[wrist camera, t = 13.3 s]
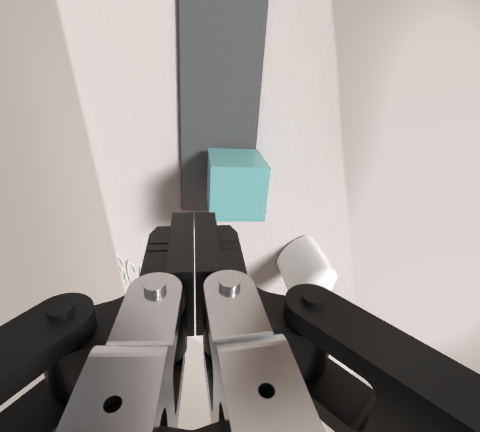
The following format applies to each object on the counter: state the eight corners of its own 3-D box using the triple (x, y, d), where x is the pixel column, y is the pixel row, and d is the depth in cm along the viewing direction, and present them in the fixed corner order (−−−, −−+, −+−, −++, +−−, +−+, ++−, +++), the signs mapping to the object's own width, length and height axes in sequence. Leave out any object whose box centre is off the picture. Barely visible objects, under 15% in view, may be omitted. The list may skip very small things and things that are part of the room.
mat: (178, -51, 27) (178, -53, 27) (270, -40, 28) (271, -42, 28) (182, 208, 38) (181, 210, 37) (250, 209, 39) (250, 210, 38)
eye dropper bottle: (319, 258, 43) (360, 324, 32) (278, 270, 43) (306, 340, 32) (313, 231, 41) (355, 291, 30) (271, 244, 41) (298, 308, 30)
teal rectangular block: (208, 147, 33) (210, 166, 28) (257, 149, 34) (270, 168, 28) (207, 194, 36) (209, 221, 30) (253, 195, 36) (264, 221, 30)
